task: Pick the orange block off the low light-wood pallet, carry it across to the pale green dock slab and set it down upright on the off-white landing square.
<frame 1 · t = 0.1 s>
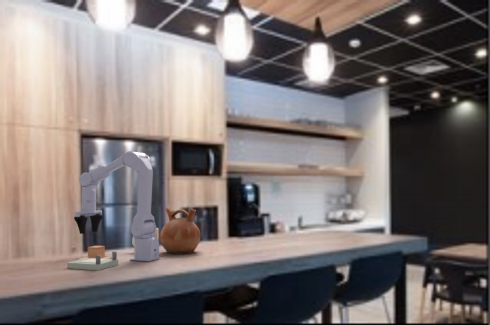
hand: (88, 232, 180), 10 cm above the counter, fingers open, 7 cm apart
orange block: (96, 258, 167), point 1 cm above the counter, touching pallet
jug: (180, 252, 187), on the counter
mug: (145, 251, 192), on the counter
dock: (93, 266, 155), on the counter
pallet: (96, 261, 167), on the counter
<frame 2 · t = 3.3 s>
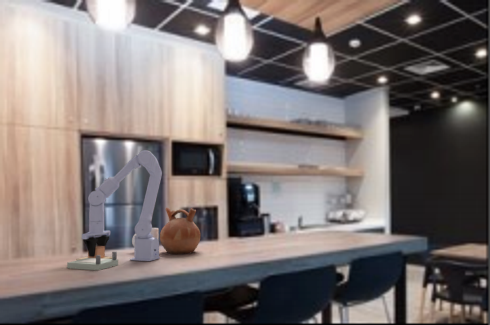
hand: (96, 255, 167), 2 cm above the counter, fingers closed on orange block, 4 cm apart
orange block: (96, 258, 167), point 1 cm above the counter, touching gripper, pallet
everything else where it was.
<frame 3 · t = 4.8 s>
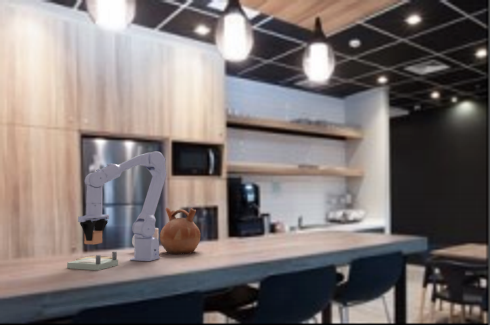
hand: (93, 239, 158), 9 cm above the counter, fingers closed on orange block, 5 cm apart
orange block: (93, 243, 158), point 8 cm above the counter, touching gripper
everything else where it was.
when the fingers open (4 cm above the counter, at t = 6.8 s): orange block stays where it is, resting on dock.
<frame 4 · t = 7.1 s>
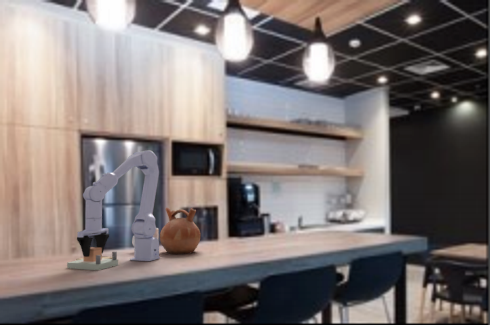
hand: (93, 255, 155), 4 cm above the counter, fingers open, 7 cm apart
orange block: (92, 260, 155), point 2 cm above the counter, touching dock
everything else where it was.
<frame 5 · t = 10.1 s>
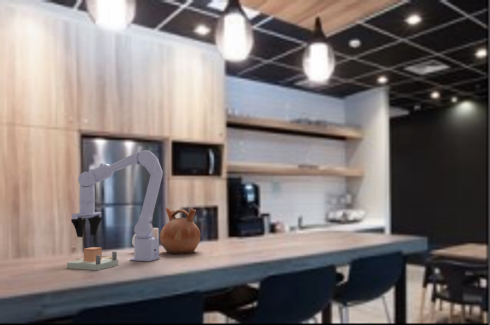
hand: (86, 236, 168), 10 cm above the counter, fingers open, 7 cm apart
nothing on the counter moved.
at the end: orange block inside the target area on the dock (0.3 cm from its centre), point 2.2 cm above the dock's base; orange block tilted 0°; the gripper is holding nothing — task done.
